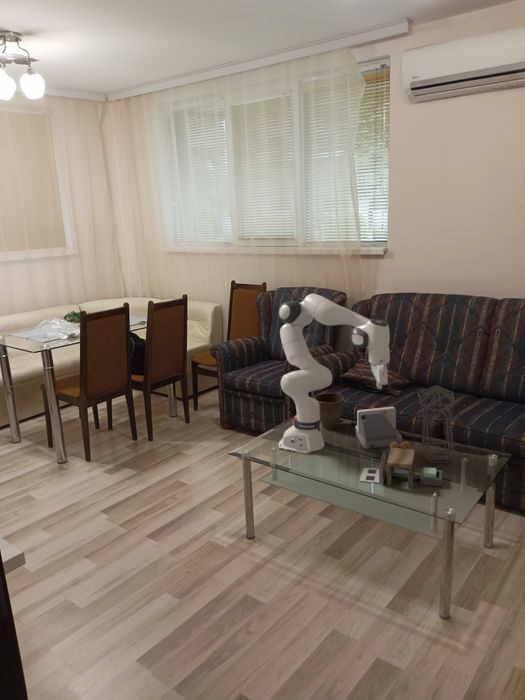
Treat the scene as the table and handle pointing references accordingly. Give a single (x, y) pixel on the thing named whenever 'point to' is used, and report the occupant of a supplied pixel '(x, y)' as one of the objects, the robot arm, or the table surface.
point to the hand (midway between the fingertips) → (379, 387)
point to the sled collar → (424, 480)
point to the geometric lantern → (441, 390)
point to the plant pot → (330, 409)
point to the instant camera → (377, 427)
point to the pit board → (370, 475)
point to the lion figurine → (401, 445)
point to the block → (429, 472)
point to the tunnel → (400, 462)
